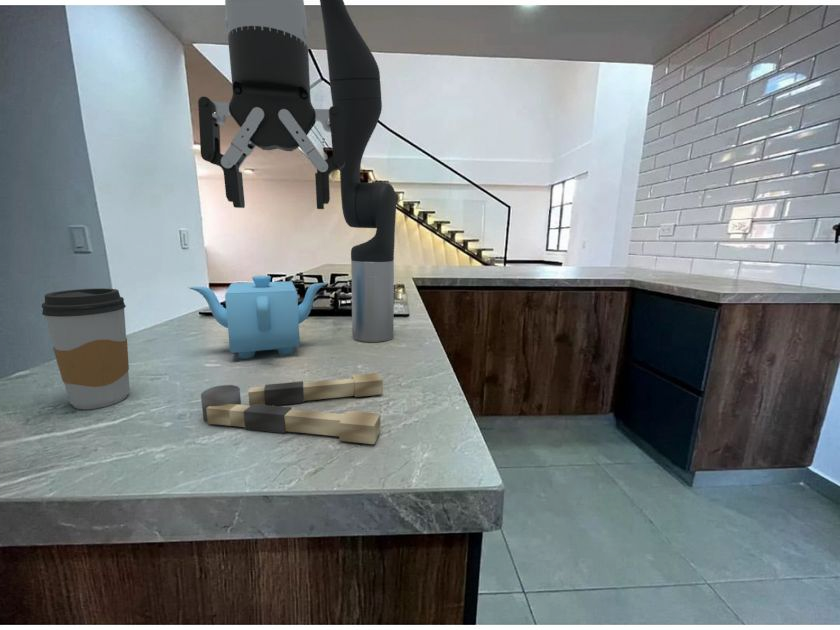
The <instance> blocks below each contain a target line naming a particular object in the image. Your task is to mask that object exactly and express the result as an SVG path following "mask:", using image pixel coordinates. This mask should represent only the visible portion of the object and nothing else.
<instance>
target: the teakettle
mask: <svg viewBox="0 0 840 630" xmlns="http://www.w3.org/2000/svg"><path fill="white" fill-rule="evenodd" d="M271 278H272V276H270V275H266V274H265V275H263V274H262V275H254V276H252V278H251V279H252V280H253V281H251V282H231V284H229V286H228V289H227V290H226V292H225V294H224V299H225V307H224V306H223V305H222V304H221V302H220V301H219V299H218V297H217V295H216V294H215V292H214V291H213V290H212V289H210V288H209V287H207V286H188V289H190V290H193V291H195V292H197V293H199V294H200V295H201V296H203V299H205V300H206V303H207V304H208V307H209V309H210V311H211V314H212V316H213V318H214V319H215V321H216V322H217V323H218V324H219V325H221V326H222V327H224V328H226V329H227V331H228V342H229V354H237V353H238V356H237V358H238V359H242V360H243V359H251V358H254V357H255V356H256V352H261V351H272V350H277V352H278V355H281V356H285V355H292V354H294V353H295V351H294V349H296V348H301V344H300V343H301V342H300V326H299V325H300V324H302V323H304V322H305V320H306V319H308V316H309V315H310V313H311V310H312V307H313V303H314V298H315V296H316V294H317V292H318V291H319V290H320V289H321V288H322V287H324V286H326V285H328V284H329V283H328V282H319V283H318V282H317V283H312V284H311V285H309V287H308V288H307V290H306V292H305V295H304V298H303V300H302V302H301V303H300V304H298V302H299V301H298V291H297V289H296V287H295V284H294V283H293V281H271Z"/></svg>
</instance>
